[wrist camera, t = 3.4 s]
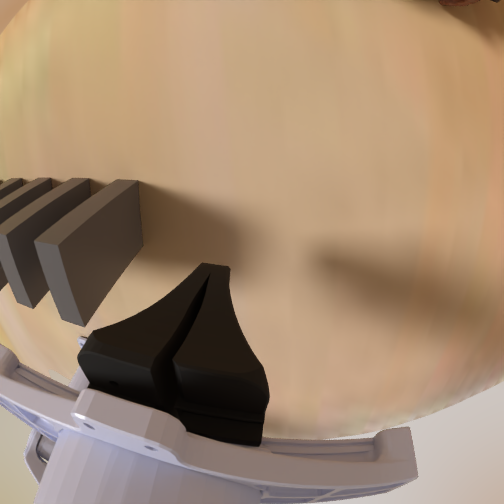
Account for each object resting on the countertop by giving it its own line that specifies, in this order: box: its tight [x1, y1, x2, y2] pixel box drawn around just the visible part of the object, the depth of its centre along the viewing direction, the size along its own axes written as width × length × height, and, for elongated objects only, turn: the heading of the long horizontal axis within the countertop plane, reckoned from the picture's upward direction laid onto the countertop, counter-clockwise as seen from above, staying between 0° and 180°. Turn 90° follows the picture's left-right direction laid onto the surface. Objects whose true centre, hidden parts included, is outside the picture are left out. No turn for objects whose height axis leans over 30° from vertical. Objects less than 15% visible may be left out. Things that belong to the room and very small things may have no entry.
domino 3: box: [0, 178, 52, 291], centre depth 15 cm, size 5×2×8 cm, turn 174°
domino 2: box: [0, 178, 91, 309], centre depth 15 cm, size 5×2×8 cm, turn 174°
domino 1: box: [34, 179, 143, 327], centre depth 15 cm, size 5×2×8 cm, turn 174°
